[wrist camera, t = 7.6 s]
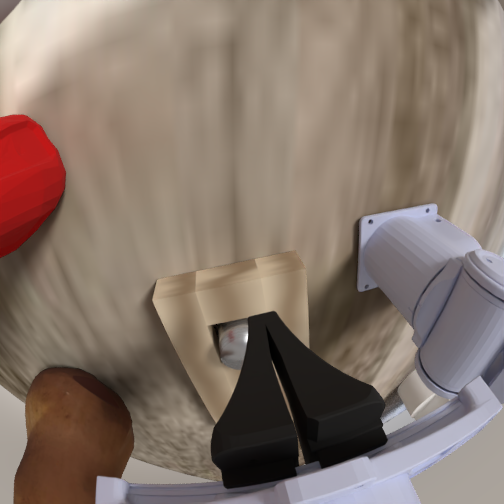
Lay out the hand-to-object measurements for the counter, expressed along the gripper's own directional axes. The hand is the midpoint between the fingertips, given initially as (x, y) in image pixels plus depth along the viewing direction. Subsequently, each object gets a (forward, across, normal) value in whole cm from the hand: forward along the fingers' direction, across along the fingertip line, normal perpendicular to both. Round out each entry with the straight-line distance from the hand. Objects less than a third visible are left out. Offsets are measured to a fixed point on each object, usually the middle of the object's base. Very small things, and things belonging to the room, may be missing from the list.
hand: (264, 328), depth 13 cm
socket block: (+10, +2, +14) cm, 18 cm away
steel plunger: (+10, +2, +8) cm, 13 cm away
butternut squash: (+11, +22, +15) cm, 29 cm away
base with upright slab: (+10, -26, +34) cm, 44 cm away
